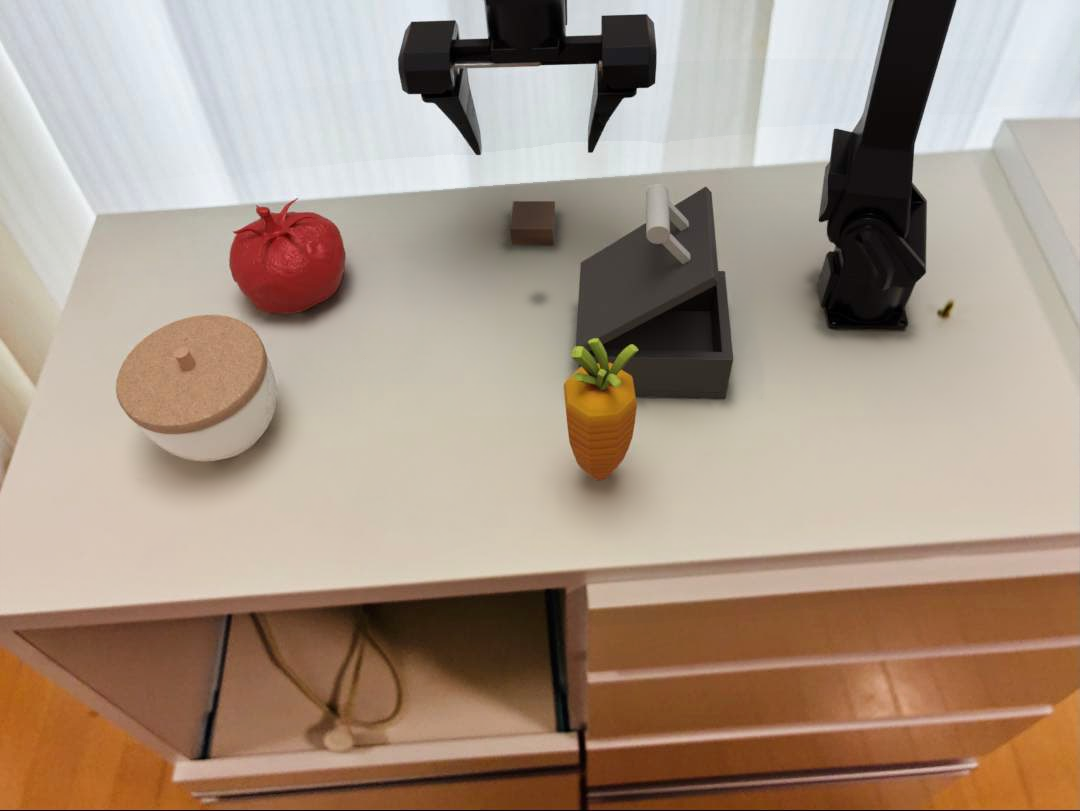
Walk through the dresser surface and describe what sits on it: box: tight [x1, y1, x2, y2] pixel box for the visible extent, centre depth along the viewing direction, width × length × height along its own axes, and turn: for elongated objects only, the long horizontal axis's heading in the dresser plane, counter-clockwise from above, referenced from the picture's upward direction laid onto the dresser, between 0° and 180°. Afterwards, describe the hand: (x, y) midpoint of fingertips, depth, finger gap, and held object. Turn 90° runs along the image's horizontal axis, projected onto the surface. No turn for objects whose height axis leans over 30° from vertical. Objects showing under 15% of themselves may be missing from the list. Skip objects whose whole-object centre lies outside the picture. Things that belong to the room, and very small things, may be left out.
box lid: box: [575, 183, 719, 352], centre depth 61 cm, size 12×10×5 cm
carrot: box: [563, 338, 638, 481], centre depth 56 cm, size 5×5×15 cm
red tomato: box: [228, 197, 346, 315], centre depth 72 cm, size 10×10×9 cm
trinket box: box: [115, 314, 278, 462], centre depth 63 cm, size 11×11×9 cm
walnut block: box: [509, 200, 557, 246], centre depth 78 cm, size 4×4×2 cm
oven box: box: [578, 270, 734, 400], centre depth 67 cm, size 12×10×5 cm
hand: (534, 150), depth 68 cm, fingers open, 9 cm apart
